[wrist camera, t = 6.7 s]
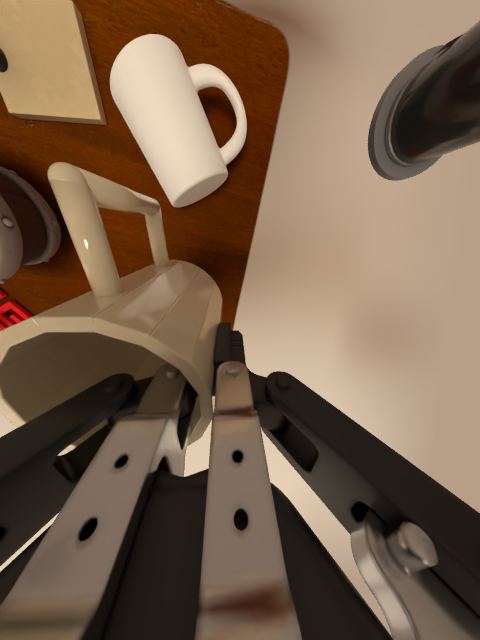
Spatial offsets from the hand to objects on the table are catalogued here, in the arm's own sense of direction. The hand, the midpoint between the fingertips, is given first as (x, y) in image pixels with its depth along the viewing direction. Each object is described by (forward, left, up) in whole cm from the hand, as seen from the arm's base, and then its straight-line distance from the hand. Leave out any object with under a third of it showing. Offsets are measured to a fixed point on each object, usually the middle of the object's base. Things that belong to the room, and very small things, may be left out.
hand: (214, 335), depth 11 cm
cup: (+3, -2, -5) cm, 6 cm away
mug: (+3, -16, -22) cm, 27 cm away
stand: (+19, -21, -22) cm, 36 cm away
